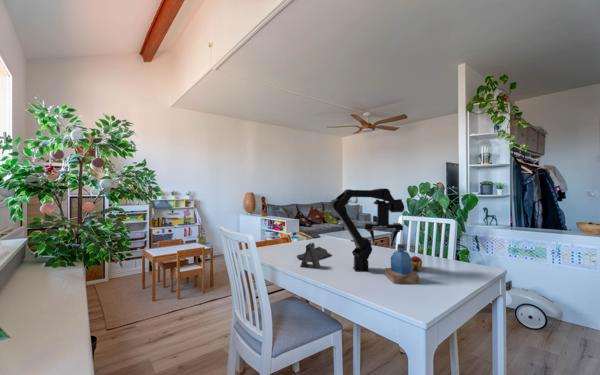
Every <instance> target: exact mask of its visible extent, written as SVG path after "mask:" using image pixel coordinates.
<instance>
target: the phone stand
mask: <svg viewBox="0 0 600 375" xmlns="http://www.w3.org/2000/svg"><path fill="white" fill-rule="evenodd" d="M315 248H316V247H315V243H314V242H309V243H308V244H306V245H305V252H304V253H305V254H304V257H303V259H301V264H300V268H305V269H316V270H317V269H318V268H320V266H321V263H320V261H319V260H318V257H317V254H316V251H315ZM309 255H311V259H312V262H311V263H312V264H311V263H308V262H309V261H308V259H309Z"/></svg>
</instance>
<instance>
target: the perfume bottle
mask: <svg viewBox="0 0 600 375" xmlns="http://www.w3.org/2000/svg"><path fill="white" fill-rule="evenodd" d="M396 250H397V251H394V252H393V253H392V254H391V256H390V268H391V271H394V272H397V273H400V274H405V273H410V272H411V258H412V257H411V256H410V255H411V254H409V253H408V252H407V251H405V250H406V247H405V243H404V244H402V243H398V244H397V247H396Z"/></svg>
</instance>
